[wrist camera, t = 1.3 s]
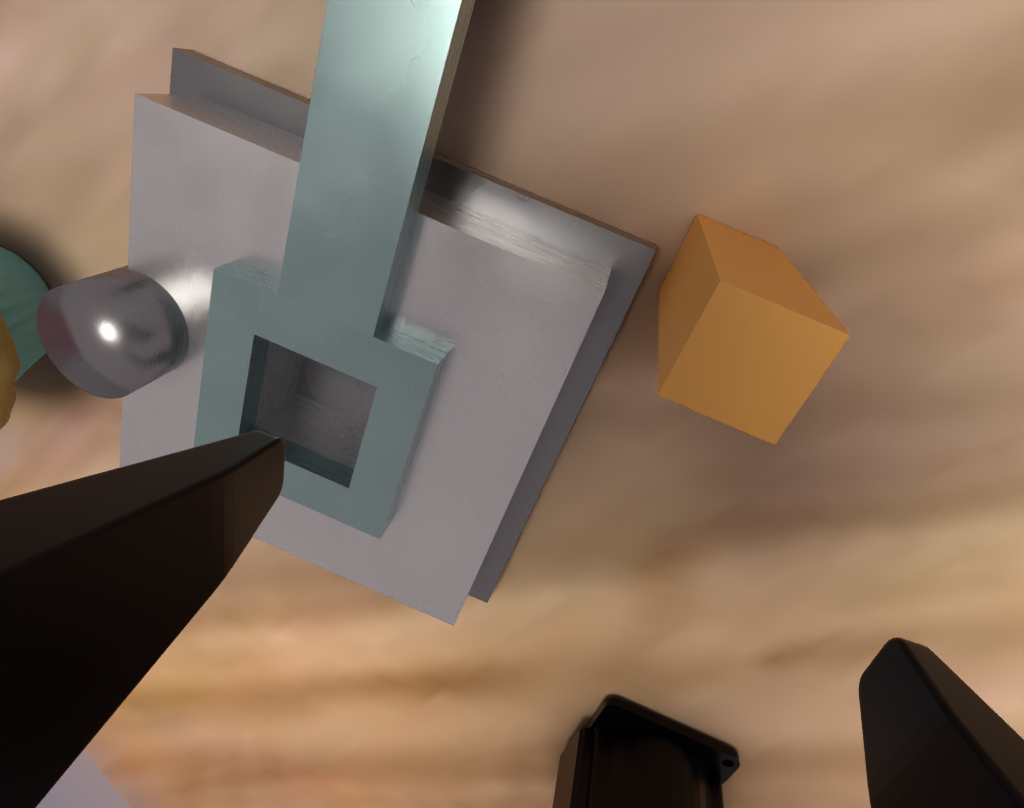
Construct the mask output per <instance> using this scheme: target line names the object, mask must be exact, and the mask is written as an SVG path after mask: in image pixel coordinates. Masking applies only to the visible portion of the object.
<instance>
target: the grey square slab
mask: <svg viewBox="0 0 1024 808" xmlns="http://www.w3.org/2000/svg"><path fill="white" fill-rule="evenodd" d="M474 4H475V0H328V1H327V7H326V13H325V19H324V24H323V30H322V36H321V42H320V48H319V54H318V60H317V65H316V71H315V77H314V83H313V89H312V95H311V100H309V99H307V98H304V97H302V96H299V95H297V94H295V93H292V92H290V91H288V90H285V89H283V88H280V87H278V86H276V85H273V84H271V83H268V82H266V81H264V80H261V79H259V78H257V77H254V76H252V75H249V74H247V73H245V72H242V71H240V70H237V69H235V68H233V67H230V66H228V65H226V64H223V63H221V62H218V61H216V60H214V59H211V58H209V57H206V56H204V55H202V54H199V53H197V52H195V51H192V50H188V49H179V48H173V53H172V69H171V84H170V94H139V93H135V104H134V128H133V153H132V177H131V202H130V227H129V251H128V265H127V266H124V267H121V268H117V269H114V270H111V271H108V272H104V273H101V274H98V275H94V276H91V277H88V278H85V279H81V280H78V281H75V282H72V283H68V284H65V285H62V286H58V287H56V288H53V289H51V290H50V291H48V292H47V293H46V294H45V295H44V296H43V298H42V299H41V301H40V303H39V306H38V309H37V316H36V322H37V330H38V334H39V337H40V340H41V343H42V345H43V348H44V350H45V351H46V353H47V355H48V357H49V358H50V360H51V361H52V363H53V364H54V365H55V366H56V368H57V369H58V370H59V371H60V372H61V373H62V374H63V375H64V376H65V377H66V378H67V379H68V380H69V381H70V382H72V383H73V384H74V385H76V386H77V387H79V388H80V389H82V390H84V391H86V392H88V393H90V394H93V395H95V396H99V397H102V398H121V397H123V399H122V424H121V448H120V467H124V466H128V465H131V464H135V463H139V462H142V461H146V460H150V459H153V458H157V457H161V456H164V455H168V454H172V453H175V452H179V451H183V450H186V449H190V448H194V447H197V446H201V445H205V444H208V443H212V442H216V441H219V440H223V439H227V438H230V437H234V436H238V435H241V434H245V433H249V432H252V431H263V432H266V433H269V434H272V435H275V436H278V437H281V438H282V439H283V440H284V442H285V464H284V481H283V487H282V490H281V493H280V495H279V497H278V498H277V500H276V502H275V503H274V505H273V506H272V508H271V509H270V511H269V512H268V514H267V515H266V517H265V518H264V520H263V521H262V523H261V524H260V526H259V527H258V529H257V530H256V532H255V534H254V535H253V537H254V538H256V539H259V540H261V541H263V542H265V543H268V544H270V545H272V546H274V547H277V548H279V549H281V550H283V551H286V552H288V553H290V554H292V555H295V556H297V557H299V558H302V559H304V560H306V561H308V562H311V563H313V564H315V565H317V566H320V567H322V568H324V569H326V570H329V571H331V572H333V573H335V574H338V575H340V576H342V577H345V578H347V579H349V580H351V581H354V582H356V583H358V584H360V585H363V586H365V587H367V588H369V589H372V590H374V591H376V592H378V593H381V594H383V595H385V596H387V597H390V598H392V599H394V600H397V601H399V602H401V603H403V604H406V605H408V606H410V607H412V608H415V609H417V610H419V611H421V612H424V613H426V614H428V615H430V616H433V617H435V618H437V619H440V620H442V621H444V622H446V623H449V624H451V625H453V626H454V624H455V622H456V620H457V617H458V615H459V613H460V611H461V608H462V606H463V604H464V602H465V600H466V597H467V595H470V596H473V597H475V598H477V599H480V600H482V601H484V602H486V603H487V602H488V600H489V598H490V596H491V594H492V592H493V590H494V588H495V586H496V584H497V582H498V579H499V577H500V575H501V573H502V571H503V569H504V567H505V565H506V563H507V561H508V559H509V557H510V554H511V552H512V550H513V548H514V546H515V544H516V542H517V540H518V538H519V536H520V534H521V532H522V529H523V527H524V525H525V523H526V521H527V519H528V517H529V515H530V513H531V511H532V509H533V506H534V504H535V502H536V500H537V498H538V496H539V494H540V492H541V490H542V488H543V486H544V484H545V481H546V479H547V477H548V475H549V473H550V471H551V469H552V467H553V465H554V463H555V461H556V459H557V456H558V454H559V452H560V450H561V448H562V446H563V444H564V442H565V440H566V438H567V436H568V434H569V431H570V429H571V427H572V425H573V423H574V421H575V419H576V417H577V415H578V413H579V411H580V409H581V406H582V404H583V402H584V400H585V398H586V396H587V394H588V392H589V390H590V388H591V386H592V384H593V381H594V379H595V377H596V375H597V373H598V371H599V369H600V367H601V365H602V363H603V361H604V359H605V356H606V354H607V352H608V350H609V348H610V346H611V344H612V342H613V340H614V338H615V336H616V334H617V331H618V329H619V327H620V325H621V323H622V321H623V319H624V317H625V315H626V313H627V311H628V309H629V306H630V304H631V302H632V300H633V298H634V296H635V294H636V292H637V290H638V288H639V286H640V283H641V281H642V279H643V277H644V275H645V273H646V271H647V269H648V267H649V265H650V263H651V261H652V258H653V256H654V254H655V252H656V245H655V244H652V243H650V242H648V241H645V240H643V239H640V238H638V237H636V236H633V235H631V234H629V233H626V232H624V231H621V230H619V229H617V228H614V227H612V226H609V225H607V224H605V223H602V222H600V221H598V220H595V219H593V218H590V217H588V216H586V215H583V214H581V213H578V212H576V211H574V210H571V209H569V208H567V207H564V206H562V205H559V204H557V203H555V202H552V201H550V200H547V199H545V198H543V197H540V196H538V195H536V194H533V193H531V192H528V191H526V190H524V189H521V188H519V187H516V186H514V185H512V184H509V183H507V182H505V181H502V180H500V179H497V178H495V177H493V176H490V175H488V174H485V173H483V172H481V171H478V170H476V169H474V168H471V167H469V166H466V165H464V164H462V163H459V162H457V161H454V160H452V159H450V158H447V157H445V156H443V155H440V154H438V153H435V152H434V151H435V147H436V143H437V140H438V136H439V132H440V129H441V125H442V121H443V118H444V114H445V110H446V107H447V103H448V99H449V96H450V92H451V88H452V85H453V81H454V77H455V74H456V70H457V66H458V63H459V59H460V55H461V52H462V48H463V44H464V41H465V37H466V33H467V30H468V26H469V22H470V19H471V15H472V11H473V8H474Z"/></svg>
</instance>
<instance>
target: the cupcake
mask: <svg viewBox="0 0 1024 808" xmlns="http://www.w3.org/2000/svg"><path fill="white" fill-rule="evenodd" d="M48 291H50V290H49V288H48V287H47V285H46V284H45V282H44V281H43V279H42V278H41V277H40V276H39V274H38V273H37V272H36V271H35V270H34V269H33V268H32V267H31V266H30V265H29V264H28V263H27V262H26V261H24V260H23V259H22V258H20V257H19V256H17V255H16V254H14V253H13V252H11V251H9V250H7V249H5V248H2V247H0V429H1V428H2V427H3V426H4V425H5V424H6V423H7V422H8V420H9V418H10V414H11V410H12V408H13V405H14V402H15V398H16V392H15V383H16V382H17V380H18V379H19V378H20V377H21V376H22V375H23V374H24V373H25V372H26V371H27V370H28V369H29V368H30V367H31V366H32V365H33V364H34V363H36V362H37V361H38V360H39V359H40V358H41V357H42V356H43V355H45V354H46V351H45V350H44V348H43V345H42V343H41V340H40V337H39V334H38V330H37V322H36V316H37V309H38V306H39V303H40V301H41V299H42V298H43V296H44V295H45V294H46V293H47V292H48Z"/></svg>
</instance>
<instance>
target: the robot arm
mask: <svg viewBox="0 0 1024 808" xmlns="http://www.w3.org/2000/svg"><path fill="white" fill-rule="evenodd" d="M284 464H285V442H284V440H283V439H282V438H281V437H278V436H275V435H272V434H269V433H266V432H263V431H252V432H249V433H245V434H241V435H238V436H234V437H230V438H227V439H223V440H219V441H216V442H212V443H208V444H205V445H201V446H197V447H194V448H190V449H186V450H183V451H179V452H175V453H172V454H168V455H164V456H161V457H157V458H153V459H150V460H146V461H142V462H139V463H135V464H131V465H128V466H124V467H120V468H117V469H113V470H109V471H106V472H102V473H98V474H95V475H91V476H87V477H84V478H80V479H76V480H73V481H69V482H65V483H62V484H58V485H54V486H51V487H47V488H43V489H40V490H36V491H32V492H29V493H25V494H21V495H18V496H14V497H10V498H7V499H3V500H0V808H36V806H37V805H38V804H39V803H40V802H41V800H42V799H43V798H44V797H45V796H46V794H47V793H48V792H49V791H50V789H51V788H52V787H53V786H54V785H55V784H56V782H57V781H58V780H59V779H60V778H61V776H62V775H63V774H64V773H65V771H66V770H67V769H68V768H69V766H70V765H71V764H72V763H73V762H74V761H75V759H76V758H77V757H78V756H79V755H80V753H81V752H82V751H83V750H84V749H85V747H86V746H87V745H88V744H89V742H90V741H91V740H92V739H93V738H94V736H95V735H96V734H97V733H98V732H99V730H100V729H101V728H102V727H103V726H104V724H105V723H106V722H107V721H108V719H109V718H110V717H111V716H112V715H113V713H114V712H115V711H116V710H117V709H118V707H119V706H120V705H121V704H122V703H123V701H124V700H125V699H126V698H127V697H128V695H129V694H130V693H131V692H132V690H133V689H134V688H135V687H136V686H137V684H138V683H139V682H140V681H141V680H142V678H143V677H144V676H145V675H146V674H147V672H148V671H149V670H150V669H151V667H152V666H153V665H154V664H155V663H156V661H157V660H158V659H159V658H160V657H161V655H162V654H163V653H164V652H165V651H166V649H167V648H168V647H169V646H170V644H171V643H172V642H173V641H174V640H175V638H176V637H177V636H178V635H179V634H180V632H181V631H182V630H183V629H184V628H185V626H186V625H187V624H188V623H189V621H190V620H191V619H192V618H193V617H194V615H195V614H196V613H197V612H198V611H199V609H200V608H201V607H202V606H203V605H204V603H205V602H206V601H207V600H208V599H209V597H210V596H211V595H212V594H213V592H214V591H215V590H216V589H217V587H218V586H219V585H220V584H221V582H222V581H223V580H224V578H225V577H226V576H227V574H228V573H229V571H230V570H231V568H232V567H233V566H234V564H235V562H236V561H237V559H238V558H239V556H240V555H241V553H242V552H243V550H244V549H245V547H246V546H247V544H248V543H249V541H250V540H251V538H252V537H253V535H254V534H255V532H256V530H257V529H258V527H259V526H260V524H261V523H262V521H263V520H264V518H265V517H266V515H267V514H268V512H269V511H270V509H271V508H272V506H273V505H274V503H275V502H276V500H277V498H278V497H279V495H280V493H281V490H282V487H283V481H284ZM859 700H860V710H861V721H862V731H863V741H864V751H865V761H866V771H867V782H868V790H869V797H870V804H871V808H1024V740H1023V739H1022V738H1021V737H1020V736H1019V735H1018V734H1017V733H1016V732H1015V731H1014V730H1013V729H1012V728H1011V727H1010V726H1009V725H1008V724H1007V723H1006V722H1005V721H1004V720H1003V719H1002V718H1001V717H1000V716H999V715H998V714H997V713H995V712H994V711H993V710H992V709H991V708H990V707H989V706H988V705H987V704H986V703H985V702H984V701H983V700H982V699H981V698H980V697H979V696H978V695H977V694H976V693H975V692H974V691H973V690H972V689H971V688H970V687H969V686H968V685H967V684H965V683H964V682H963V681H962V680H961V679H960V678H959V677H958V676H957V675H956V674H955V673H954V672H953V671H952V670H951V669H950V668H949V667H948V666H947V665H946V664H945V663H944V662H943V661H942V660H941V659H940V658H939V657H938V656H936V655H935V654H934V653H933V652H932V651H931V650H930V649H929V648H927V647H926V646H924V645H921V644H918V643H915V642H912V641H908V640H905V639H902V638H892V639H890V640H889V641H888V642H887V643H886V644H885V645H884V646H883V648H882V649H881V650H880V652H879V653H878V654H877V656H876V657H875V658H874V659H873V661H872V662H871V663H870V665H869V666H868V667H867V669H866V670H865V671H864V673H863V674H862V677H861V679H860V683H859ZM739 766H740V763H739V755H738V753H737V752H736V751H735V750H734V749H732V748H729V747H727V746H725V745H723V744H720V743H718V742H716V741H714V740H711V739H709V738H707V737H704V736H702V735H700V734H698V733H695V732H693V731H691V730H689V729H686V728H684V727H682V726H680V725H677V724H675V723H673V722H671V721H668V720H666V719H664V718H662V717H659V716H657V715H655V714H652V713H650V712H648V711H646V710H643V709H641V708H639V707H637V706H634V705H632V704H630V703H628V702H625V701H623V700H621V699H618V698H613V697H610V698H607V699H606V700H605V701H604V702H603V703H602V705H601V706H600V708H599V709H598V711H597V712H596V713H595V715H594V716H593V718H592V719H591V721H590V722H589V723H588V725H587V726H583V727H581V728H579V730H578V731H577V733H576V734H575V735H574V737H573V738H572V740H571V741H570V743H569V744H568V746H567V747H566V748H565V750H564V751H563V753H562V754H561V756H560V762H559V768H558V775H557V782H556V788H555V795H554V801H553V808H724V803H723V792H722V784H723V783H724V782H725V781H726V780H727V779H728V778H729V777H730V776H731V775H732V774H733V773H734V772H735V771H736V770H737V769H738V768H739Z"/></svg>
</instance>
